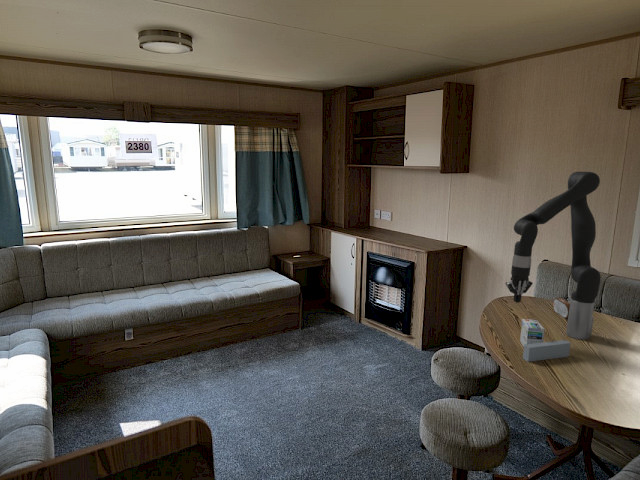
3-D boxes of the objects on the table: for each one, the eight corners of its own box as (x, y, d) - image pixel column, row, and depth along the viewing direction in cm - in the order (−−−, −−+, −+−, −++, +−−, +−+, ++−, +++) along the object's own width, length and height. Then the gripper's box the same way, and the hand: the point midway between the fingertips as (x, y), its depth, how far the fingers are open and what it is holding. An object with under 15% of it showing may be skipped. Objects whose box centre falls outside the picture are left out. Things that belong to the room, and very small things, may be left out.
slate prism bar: (563, 353, 181) (564, 339, 180) (568, 356, 178) (570, 342, 177) (522, 358, 176) (524, 344, 175) (527, 361, 173) (529, 347, 172)
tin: (572, 321, 217) (574, 305, 215) (566, 321, 217) (568, 305, 215) (556, 310, 231) (558, 295, 230) (551, 310, 231) (553, 295, 230)
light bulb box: (542, 353, 181) (545, 329, 179) (525, 351, 182) (528, 327, 180) (535, 342, 191) (538, 319, 189) (519, 340, 192) (521, 318, 190)
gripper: (527, 262, 196) (523, 298, 199) (502, 263, 192) (498, 300, 196) (540, 266, 189) (535, 303, 192) (514, 267, 185) (509, 306, 189)
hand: (516, 302), depth 194 cm, fingers closed
